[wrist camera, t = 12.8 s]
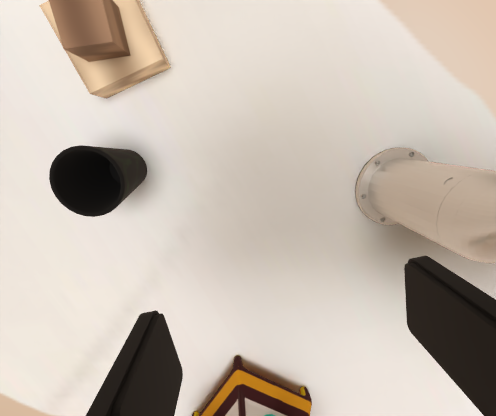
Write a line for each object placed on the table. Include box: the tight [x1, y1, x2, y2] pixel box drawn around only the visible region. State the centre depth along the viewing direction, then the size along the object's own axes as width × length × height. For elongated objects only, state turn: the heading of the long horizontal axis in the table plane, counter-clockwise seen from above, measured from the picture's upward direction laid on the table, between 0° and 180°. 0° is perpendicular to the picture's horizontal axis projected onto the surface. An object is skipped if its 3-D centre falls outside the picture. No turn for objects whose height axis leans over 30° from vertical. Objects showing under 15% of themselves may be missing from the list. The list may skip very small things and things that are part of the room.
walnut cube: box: [49, 0, 131, 62], centre depth 29 cm, size 5×5×5 cm
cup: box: [49, 146, 147, 217], centre depth 34 cm, size 8×8×12 cm
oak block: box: [39, 0, 171, 98], centre depth 33 cm, size 10×10×5 cm
